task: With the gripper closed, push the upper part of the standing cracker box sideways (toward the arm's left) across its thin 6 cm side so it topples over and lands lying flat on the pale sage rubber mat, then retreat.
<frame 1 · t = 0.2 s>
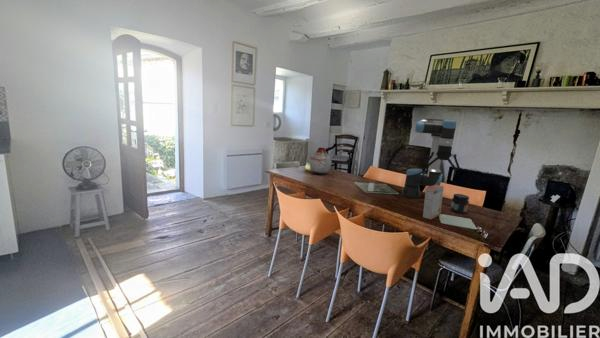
hand: (439, 178, 168), 28 cm above the table, fingers open, 13 cm apart
vase: (319, 174, 281), on the table
cracker box: (431, 216, 178), on the table, touching mat
mat: (456, 221, 173), on the table
supplement container: (458, 211, 192), on the table
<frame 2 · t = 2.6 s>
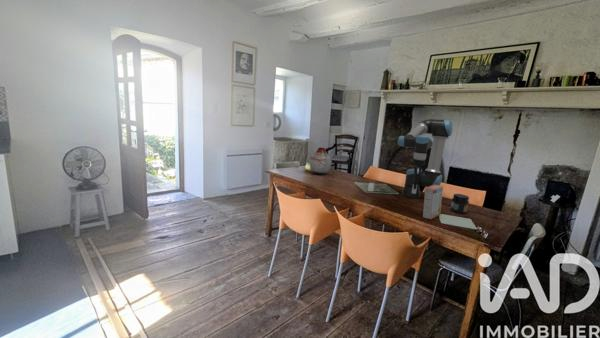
hand: (413, 193, 179), 15 cm above the table, fingers closed
nothing on the table moved.
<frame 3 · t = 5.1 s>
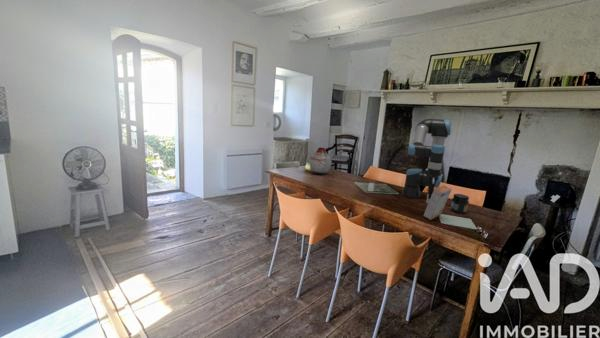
hand: (428, 202, 177), 9 cm above the table, fingers closed
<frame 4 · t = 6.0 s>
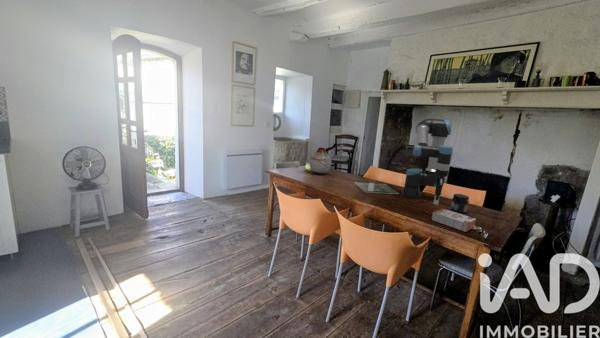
hand: (435, 204, 175), 9 cm above the table, fingers closed
cracker box: (436, 213, 175), point 3 cm above the table, touching mat
everything else where it was.
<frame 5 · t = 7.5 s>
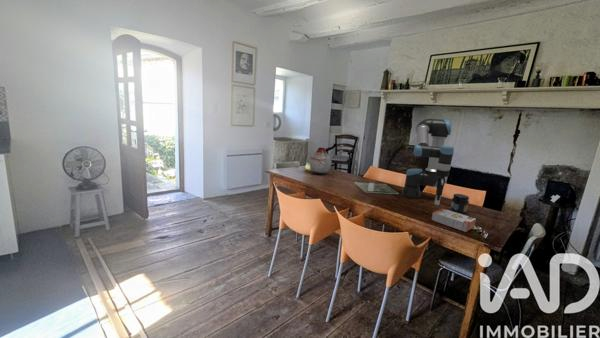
hand: (436, 204, 175), 9 cm above the table, fingers closed
nothing on the table moved.
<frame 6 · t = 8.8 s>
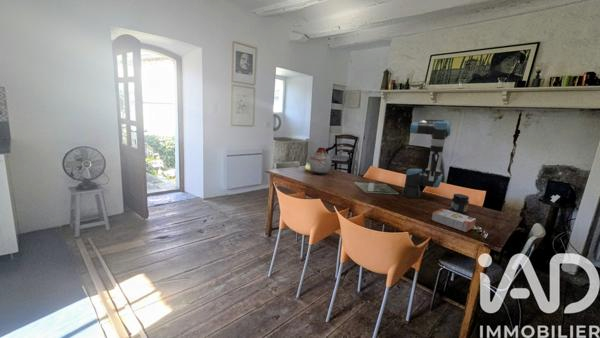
hand: (430, 180, 176), 24 cm above the table, fingers closed
nothing on the table moved.
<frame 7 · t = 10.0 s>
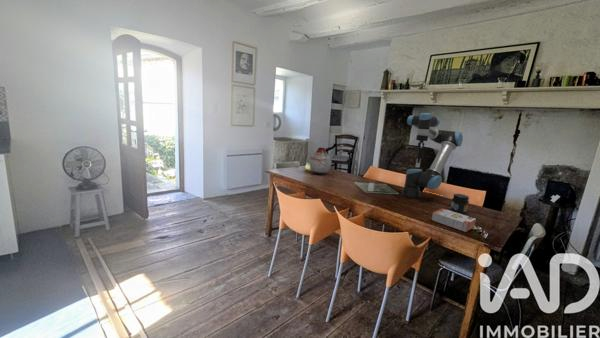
hand: (417, 167, 194), 29 cm above the table, fingers closed
nothing on the table moved.
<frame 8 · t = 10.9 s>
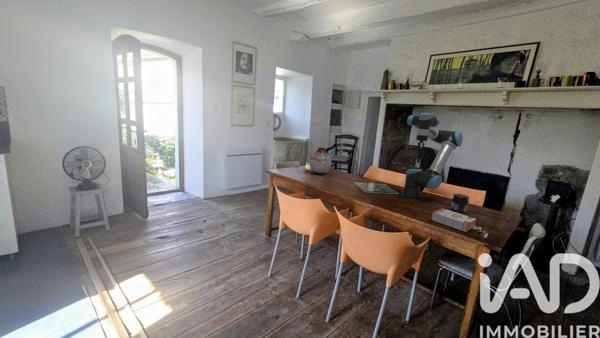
hand: (417, 167, 194), 29 cm above the table, fingers closed
nothing on the table moved.
at the end: cracker box tilted 91°; cracker box inside the target area (9.6 cm from its centre), point 3.4 cm above the table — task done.
